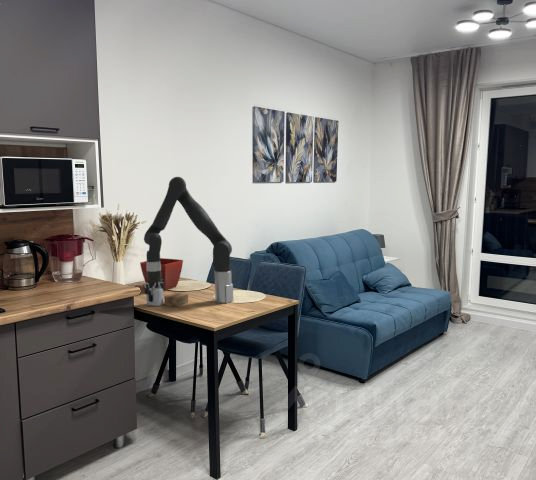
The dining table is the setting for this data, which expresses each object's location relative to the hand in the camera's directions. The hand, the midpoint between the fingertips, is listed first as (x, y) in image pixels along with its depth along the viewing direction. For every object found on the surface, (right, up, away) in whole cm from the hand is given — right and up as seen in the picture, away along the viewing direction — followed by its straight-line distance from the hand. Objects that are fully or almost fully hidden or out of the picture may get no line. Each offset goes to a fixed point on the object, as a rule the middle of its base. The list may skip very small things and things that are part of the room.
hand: (155, 300), depth 263 cm
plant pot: (-4, +3, +40) cm, 40 cm away
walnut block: (+11, -2, +2) cm, 12 cm away
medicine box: (0, -3, 0) cm, 3 cm away
